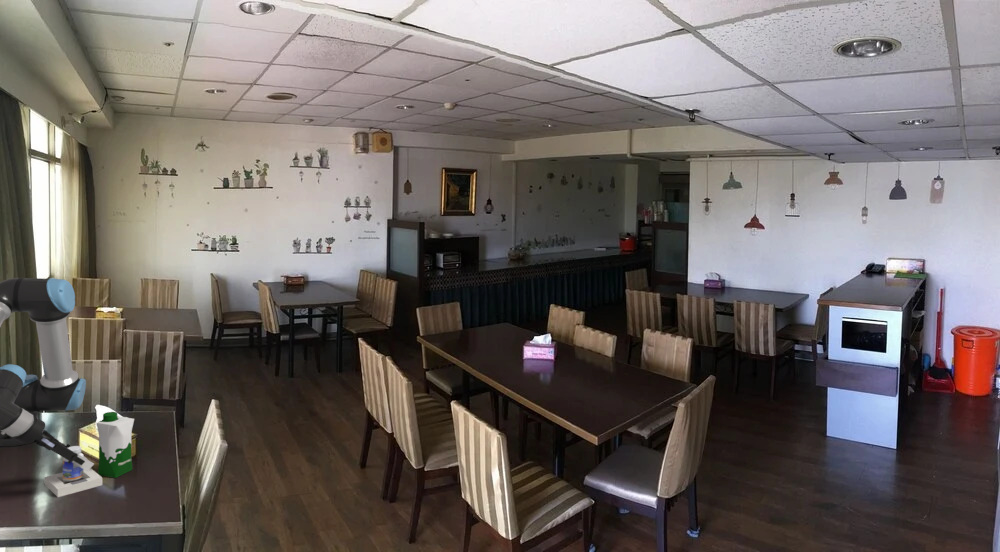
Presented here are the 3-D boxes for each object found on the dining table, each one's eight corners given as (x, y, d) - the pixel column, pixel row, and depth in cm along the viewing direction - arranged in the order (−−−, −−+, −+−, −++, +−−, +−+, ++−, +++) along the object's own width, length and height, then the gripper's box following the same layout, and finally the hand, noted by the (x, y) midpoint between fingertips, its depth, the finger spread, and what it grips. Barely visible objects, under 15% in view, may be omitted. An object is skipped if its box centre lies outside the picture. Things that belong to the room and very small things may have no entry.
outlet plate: (44, 484, 191) (44, 476, 191) (88, 473, 201) (88, 465, 201) (57, 497, 184) (57, 488, 184) (102, 485, 194) (102, 477, 193)
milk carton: (114, 465, 208) (115, 408, 206) (137, 469, 206) (137, 412, 204) (92, 475, 200) (93, 416, 198) (116, 479, 198) (116, 420, 196)
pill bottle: (58, 479, 190) (58, 449, 190) (76, 472, 196) (76, 443, 195) (70, 482, 188) (70, 452, 188) (87, 476, 194) (87, 447, 193)
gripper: (3, 429, 184) (66, 466, 198) (22, 446, 173) (88, 484, 187) (24, 408, 188) (85, 446, 202) (44, 424, 176) (107, 462, 191)
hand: (86, 464), depth 195 cm, fingers closed on pill bottle, 5 cm apart
